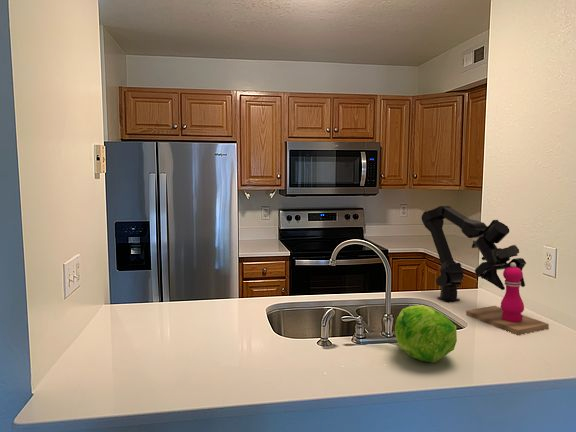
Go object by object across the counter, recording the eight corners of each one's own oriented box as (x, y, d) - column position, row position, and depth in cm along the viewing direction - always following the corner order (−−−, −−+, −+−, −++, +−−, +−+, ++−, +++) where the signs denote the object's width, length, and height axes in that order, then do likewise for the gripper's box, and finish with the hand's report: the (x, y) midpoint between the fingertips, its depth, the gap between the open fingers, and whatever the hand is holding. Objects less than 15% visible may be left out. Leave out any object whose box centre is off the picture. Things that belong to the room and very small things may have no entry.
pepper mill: (497, 319, 146) (498, 263, 144) (503, 314, 151) (504, 259, 149) (520, 324, 141) (522, 265, 139) (526, 318, 146) (527, 261, 144)
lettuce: (437, 350, 131) (442, 302, 131) (463, 374, 111) (468, 317, 111) (384, 344, 131) (388, 296, 132) (399, 367, 111) (405, 310, 111)
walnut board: (466, 317, 156) (466, 310, 156) (494, 312, 161) (494, 305, 161) (517, 337, 136) (518, 330, 136) (548, 331, 141) (548, 323, 141)
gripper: (482, 239, 145) (507, 278, 136) (522, 235, 151) (549, 272, 142) (464, 257, 153) (487, 295, 144) (503, 253, 159) (528, 289, 150)
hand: (514, 287), depth 145 cm, fingers open, 9 cm apart
